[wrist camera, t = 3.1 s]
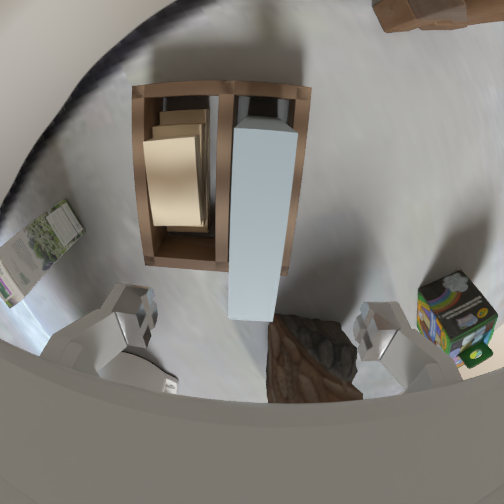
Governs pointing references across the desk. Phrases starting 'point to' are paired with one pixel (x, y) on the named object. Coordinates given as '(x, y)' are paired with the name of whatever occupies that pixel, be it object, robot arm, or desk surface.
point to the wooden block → (436, 14)
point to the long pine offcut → (204, 117)
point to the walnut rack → (209, 248)
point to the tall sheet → (259, 214)
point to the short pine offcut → (175, 180)
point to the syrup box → (36, 251)
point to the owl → (309, 362)
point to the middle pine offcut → (200, 129)
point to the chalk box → (457, 319)
